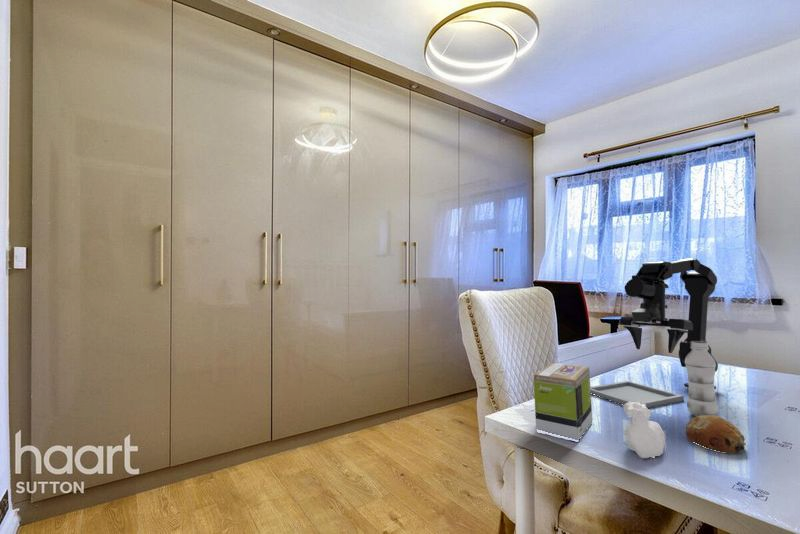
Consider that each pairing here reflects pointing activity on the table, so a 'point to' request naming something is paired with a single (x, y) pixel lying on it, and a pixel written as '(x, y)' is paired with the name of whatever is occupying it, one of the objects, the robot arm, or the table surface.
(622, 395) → the tray
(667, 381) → the table surface
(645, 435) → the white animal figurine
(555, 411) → the tea box
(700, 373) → the plastic bottle
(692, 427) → the bread roll
